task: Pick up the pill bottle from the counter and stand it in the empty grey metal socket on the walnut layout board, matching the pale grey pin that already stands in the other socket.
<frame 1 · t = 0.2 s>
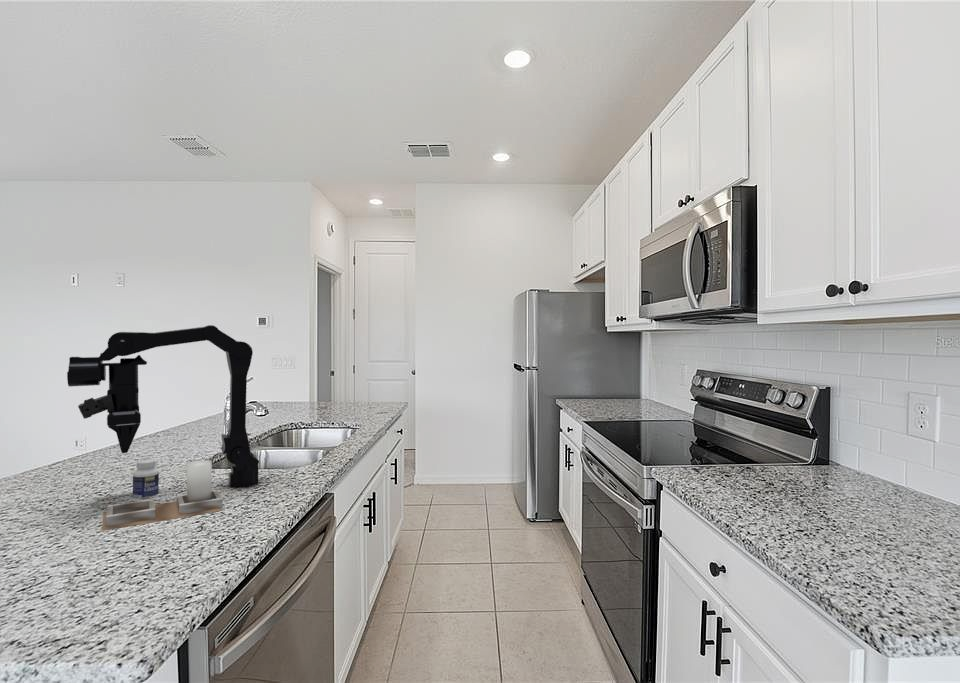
hand: (124, 449, 120), 14 cm above the countertop, tool pointing down, fingers open, 9 cm apart
pill bottle: (145, 500, 125), on the countertop
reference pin: (199, 505, 117), point 1 cm above the countertop, touching layout board
layout board: (163, 518, 113), on the countertop
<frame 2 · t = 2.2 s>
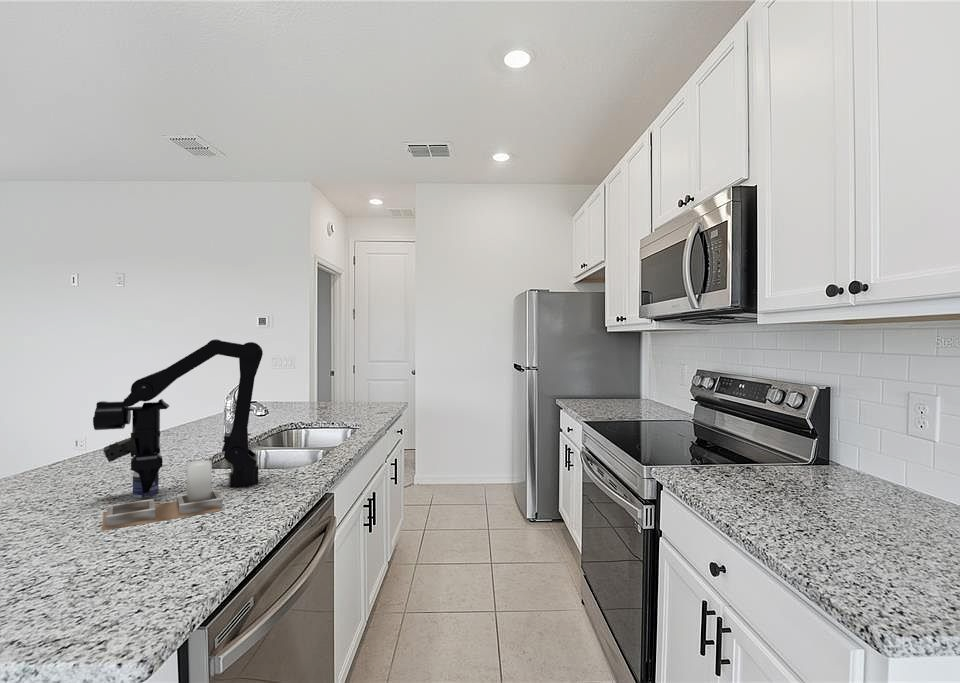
hand: (145, 489, 125), 3 cm above the countertop, tool pointing down, fingers closed on pill bottle, 5 cm apart
pill bottle: (145, 500, 125), on the countertop, touching gripper
everything else where it was.
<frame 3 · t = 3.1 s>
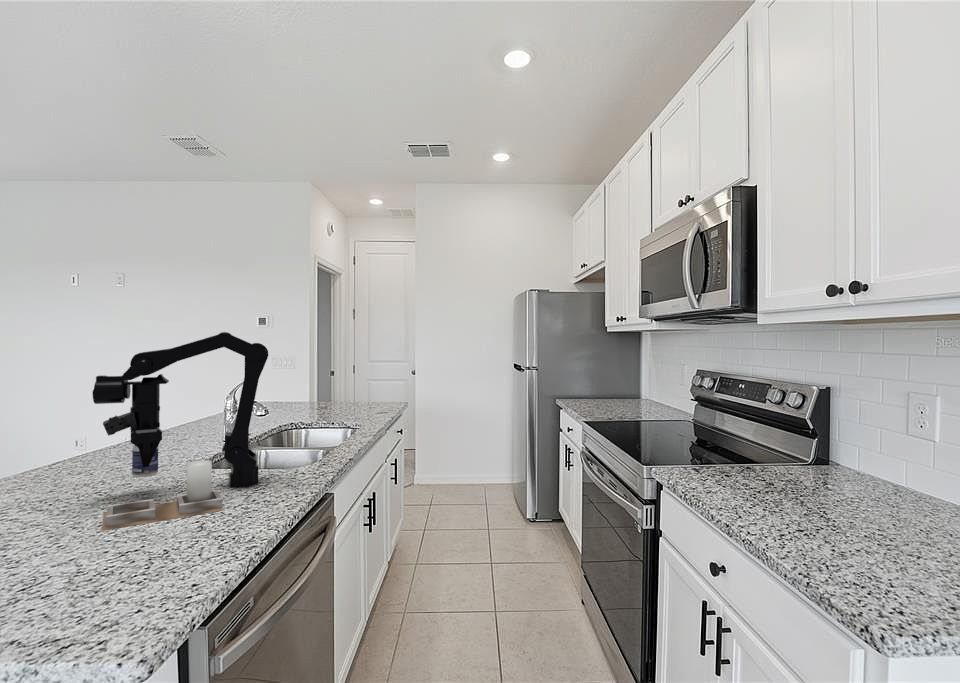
hand: (145, 464, 125), 9 cm above the countertop, tool pointing down, fingers closed on pill bottle, 5 cm apart
pill bottle: (145, 475, 125), point 6 cm above the countertop, touching gripper
everything else where it was.
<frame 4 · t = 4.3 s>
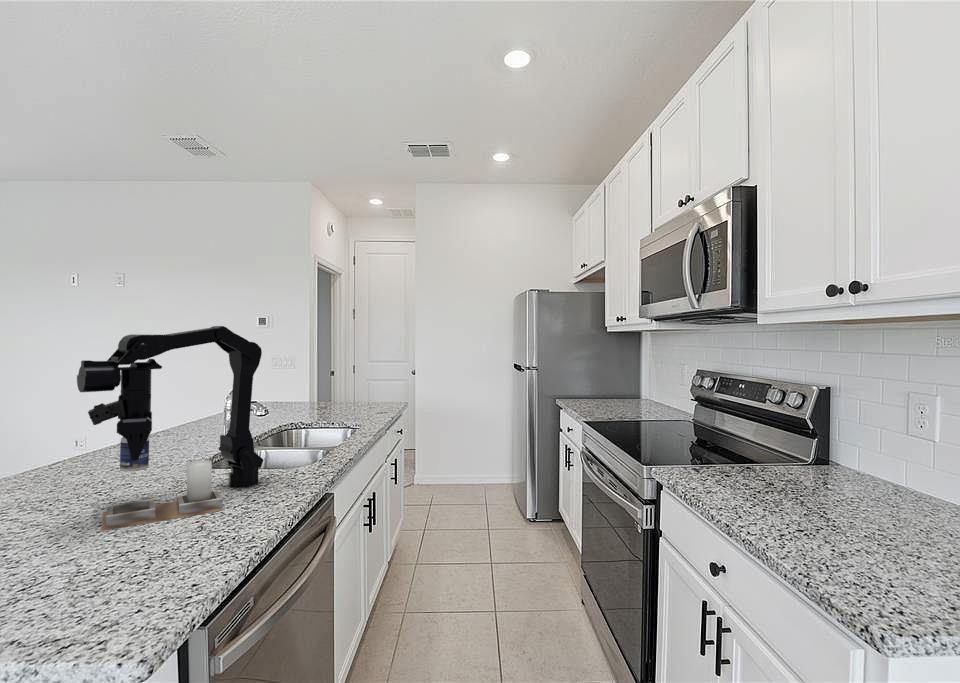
hand: (135, 457, 114), 13 cm above the countertop, tool pointing down, fingers closed on pill bottle, 5 cm apart
pill bottle: (134, 469, 114), point 10 cm above the countertop, touching gripper
everything else where it was.
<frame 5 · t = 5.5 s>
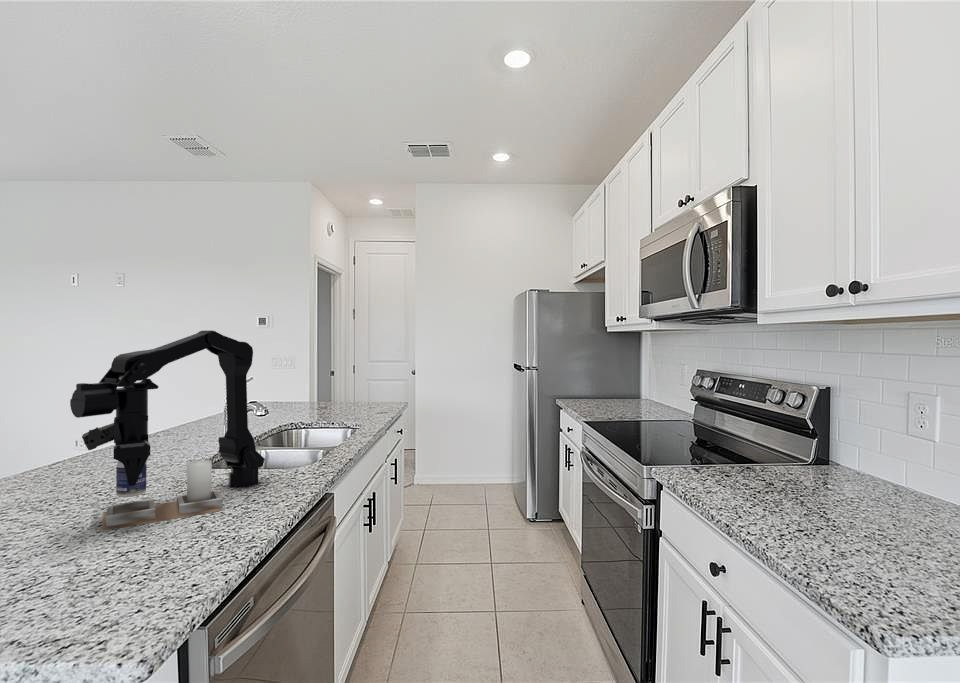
hand: (132, 482, 109), 9 cm above the countertop, tool pointing down, fingers closed on pill bottle, 5 cm apart
pill bottle: (131, 494, 109), point 6 cm above the countertop, touching gripper
everything else where it was.
when the fingers open (5 cm above the countertop, at t = 6.6 s): pill bottle stays where it is, resting on layout board.
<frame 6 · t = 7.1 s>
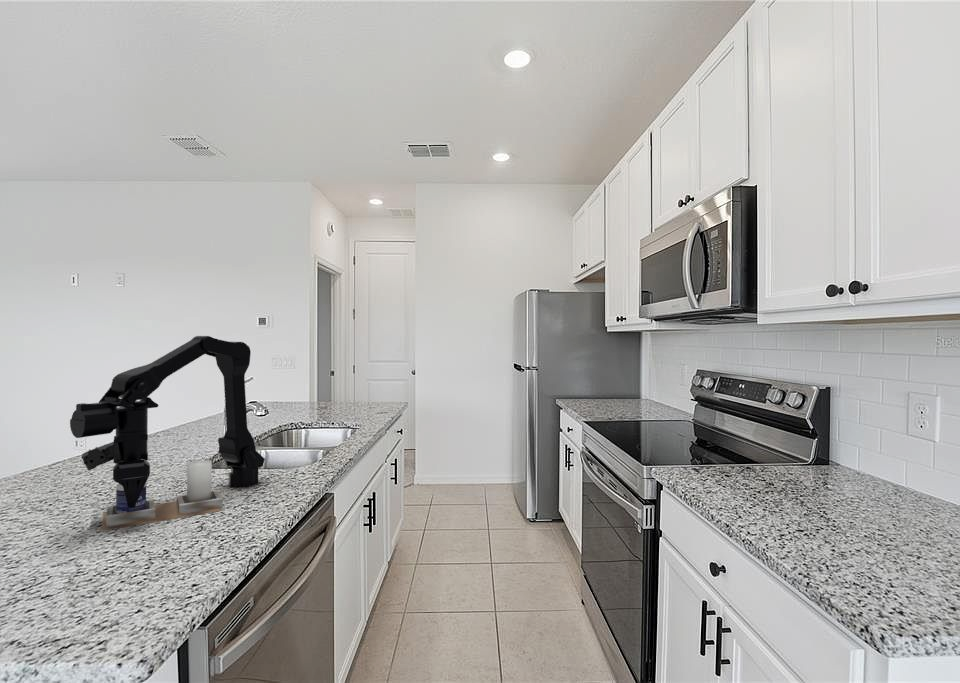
hand: (131, 501, 109), 5 cm above the countertop, tool pointing down, fingers open, 9 cm apart
pill bottle: (131, 517, 109), point 1 cm above the countertop, touching layout board
everything else where it was.
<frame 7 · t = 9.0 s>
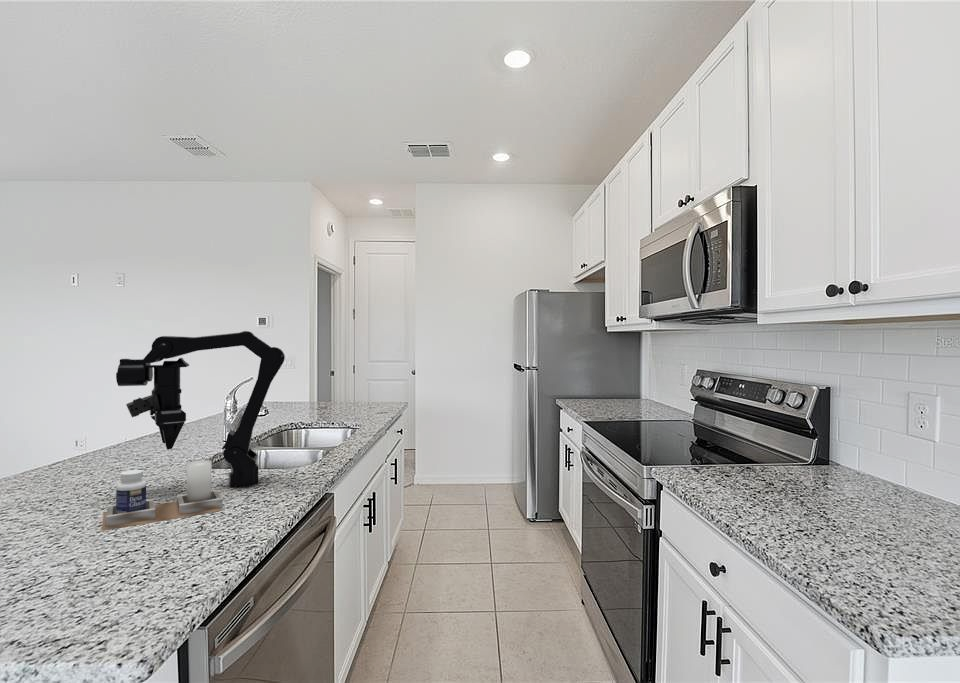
hand: (167, 446, 128), 13 cm above the countertop, tool pointing down, fingers open, 9 cm apart
nothing on the countertop moved.
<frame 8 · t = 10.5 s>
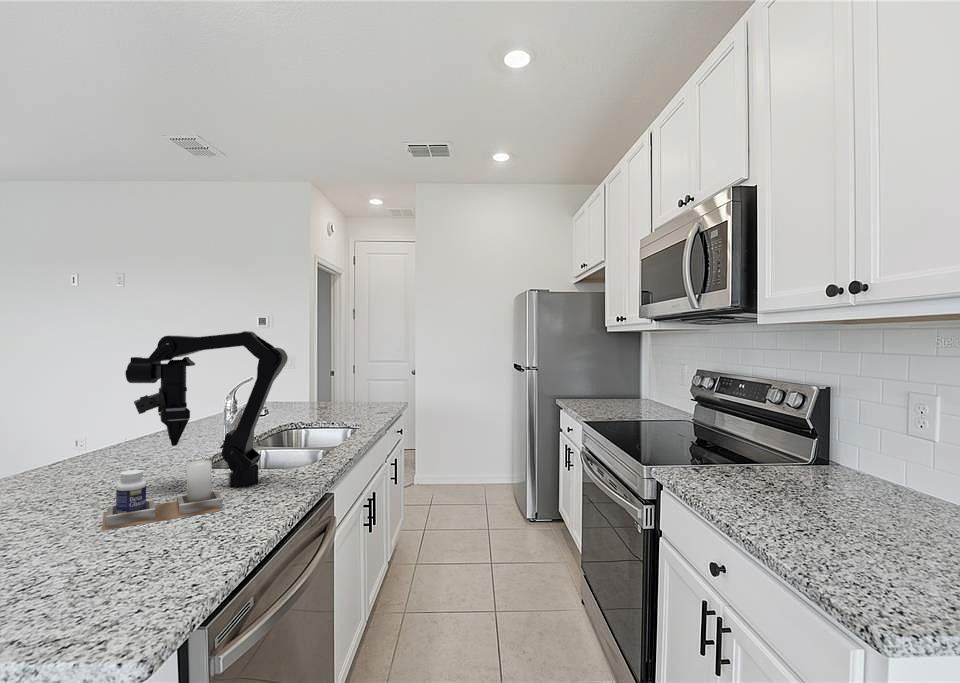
hand: (173, 442, 131), 13 cm above the countertop, tool pointing down, fingers open, 9 cm apart
nothing on the countertop moved.
at the end: pill bottle 0.0 cm from the target spot on the layout board, point 1.3 cm above the layout board's base; pill bottle tilted 0°; the gripper is holding nothing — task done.
